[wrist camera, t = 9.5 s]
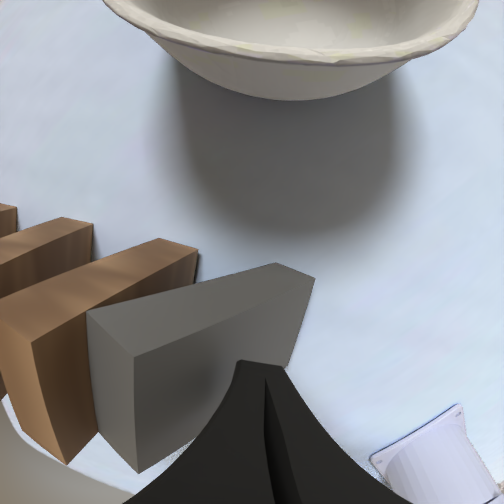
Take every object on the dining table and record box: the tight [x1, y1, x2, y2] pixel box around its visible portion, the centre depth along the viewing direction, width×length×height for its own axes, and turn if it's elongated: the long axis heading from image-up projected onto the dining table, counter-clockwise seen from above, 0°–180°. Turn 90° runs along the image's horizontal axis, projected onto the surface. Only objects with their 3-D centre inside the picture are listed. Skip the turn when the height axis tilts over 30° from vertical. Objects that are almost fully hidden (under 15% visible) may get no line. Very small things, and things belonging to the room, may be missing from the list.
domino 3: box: [86, 263, 315, 474], centre depth 10 cm, size 2×5×9 cm
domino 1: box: [0, 217, 93, 401], centre depth 9 cm, size 2×5×9 cm, turn 168°
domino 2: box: [0, 238, 198, 465], centre depth 10 cm, size 2×5×9 cm, turn 168°
